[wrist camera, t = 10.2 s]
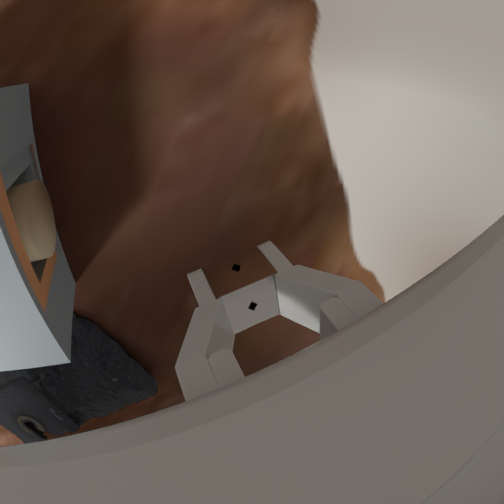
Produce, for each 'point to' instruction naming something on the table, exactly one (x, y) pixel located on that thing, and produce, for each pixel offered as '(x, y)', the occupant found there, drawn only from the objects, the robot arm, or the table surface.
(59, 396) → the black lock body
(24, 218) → the dowel peg
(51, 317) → the socket block
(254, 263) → the robot arm
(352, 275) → the table surface
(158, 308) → the table surface
